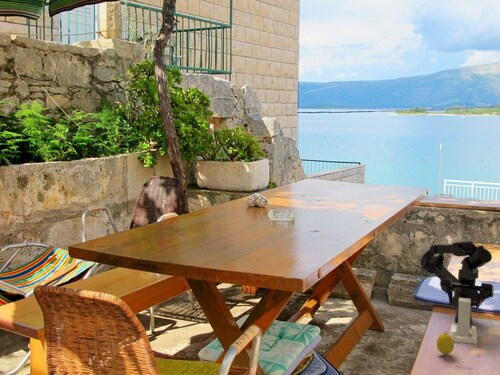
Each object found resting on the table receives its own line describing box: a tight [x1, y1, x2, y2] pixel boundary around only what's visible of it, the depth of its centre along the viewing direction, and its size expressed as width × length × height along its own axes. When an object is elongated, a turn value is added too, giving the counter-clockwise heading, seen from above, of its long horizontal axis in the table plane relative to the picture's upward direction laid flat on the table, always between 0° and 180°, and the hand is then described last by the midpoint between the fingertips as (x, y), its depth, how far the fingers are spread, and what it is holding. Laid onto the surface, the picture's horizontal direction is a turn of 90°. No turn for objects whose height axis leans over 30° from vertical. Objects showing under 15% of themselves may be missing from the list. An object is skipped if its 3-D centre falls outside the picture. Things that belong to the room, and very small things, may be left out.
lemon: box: [436, 332, 455, 356], centre depth 204 cm, size 6×6×8 cm
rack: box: [450, 323, 478, 345], centre depth 219 cm, size 9×9×4 cm
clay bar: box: [457, 298, 471, 337], centre depth 219 cm, size 4×4×13 cm
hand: (463, 307), depth 222 cm, fingers open, 9 cm apart
